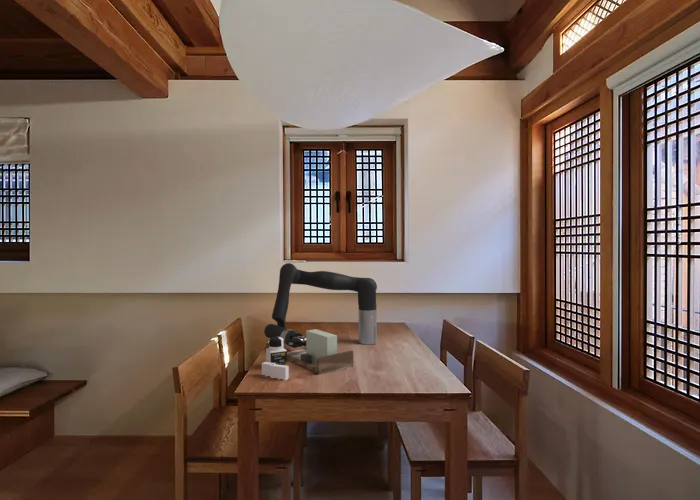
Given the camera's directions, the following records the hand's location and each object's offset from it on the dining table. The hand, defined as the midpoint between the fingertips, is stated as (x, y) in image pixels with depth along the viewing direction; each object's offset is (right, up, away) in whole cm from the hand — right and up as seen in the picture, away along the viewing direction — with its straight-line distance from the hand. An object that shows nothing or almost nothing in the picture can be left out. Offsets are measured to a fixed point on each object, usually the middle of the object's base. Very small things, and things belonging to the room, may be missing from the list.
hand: (311, 345), depth 187 cm
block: (+5, -6, -6) cm, 10 cm away
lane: (+1, -7, -1) cm, 7 cm away
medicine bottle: (-14, -7, -8) cm, 18 cm away
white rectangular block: (-12, -8, -22) cm, 26 cm away
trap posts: (+3, -6, -4) cm, 8 cm away
